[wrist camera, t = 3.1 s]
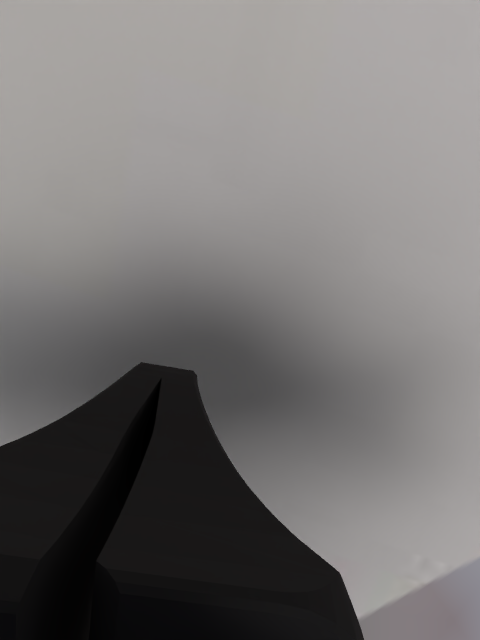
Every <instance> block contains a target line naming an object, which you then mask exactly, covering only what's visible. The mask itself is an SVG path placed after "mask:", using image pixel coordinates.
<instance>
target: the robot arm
mask: <svg viewBox="0 0 480 640" xmlns="http://www.w3.org/2000/svg"><path fill="white" fill-rule="evenodd" d="M0 640H364V638H363V634H362V631H361V628H360V625H359V622H358V619H357V616H356V614H355V611H354V608H353V605H352V603H351V600H350V598H349V595H348V592H347V590H346V587H345V585H344V582H343V579H342V577H341V575H340V573H339V572H338V571H337V570H336V569H335V568H333V567H332V566H331V565H330V564H329V563H327V562H326V561H325V560H324V559H322V558H321V557H320V556H319V555H317V554H316V553H315V552H314V551H313V550H311V549H310V548H309V547H308V546H306V545H305V544H304V543H303V542H302V541H300V540H299V539H298V538H297V537H296V536H295V535H293V534H292V533H291V532H290V531H289V530H288V529H287V528H286V527H285V526H284V525H283V524H282V523H281V522H280V521H279V520H278V519H277V518H276V517H275V516H274V515H273V514H272V513H271V512H270V511H269V510H268V509H267V508H266V507H265V506H264V504H263V503H262V502H261V501H260V500H259V499H258V497H257V496H256V495H255V494H254V493H253V492H252V490H251V489H250V488H249V487H248V486H247V484H246V483H245V481H244V480H243V479H242V477H241V476H240V475H239V473H238V472H237V470H236V469H235V467H234V466H233V464H232V463H231V461H230V459H229V458H228V456H227V454H226V453H225V451H224V449H223V447H222V446H221V444H220V442H219V440H218V438H217V436H216V434H215V432H214V430H213V428H212V425H211V423H210V421H209V418H208V416H207V413H206V411H205V408H204V406H203V403H202V400H201V396H200V393H199V389H198V384H197V375H196V374H195V373H194V371H191V370H185V369H178V368H172V367H166V366H160V365H154V364H148V363H142V362H141V363H140V364H138V365H137V366H135V367H134V368H133V369H131V370H130V371H129V372H128V373H126V374H125V375H124V376H123V377H121V378H120V379H119V380H117V381H116V382H115V383H113V384H112V385H111V386H109V387H108V388H107V389H105V390H104V391H102V392H101V393H100V394H98V395H97V396H95V397H94V398H93V399H91V400H90V401H88V402H87V403H85V404H83V405H82V406H80V407H79V408H77V409H75V410H74V411H72V412H71V413H69V414H67V415H66V416H64V417H62V418H61V419H59V420H57V421H55V422H53V423H51V424H49V425H47V426H45V427H43V428H41V429H39V430H37V431H35V432H33V433H31V434H29V435H27V436H25V437H22V438H20V439H18V440H15V441H13V442H10V443H8V444H5V445H3V446H0Z"/></svg>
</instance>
